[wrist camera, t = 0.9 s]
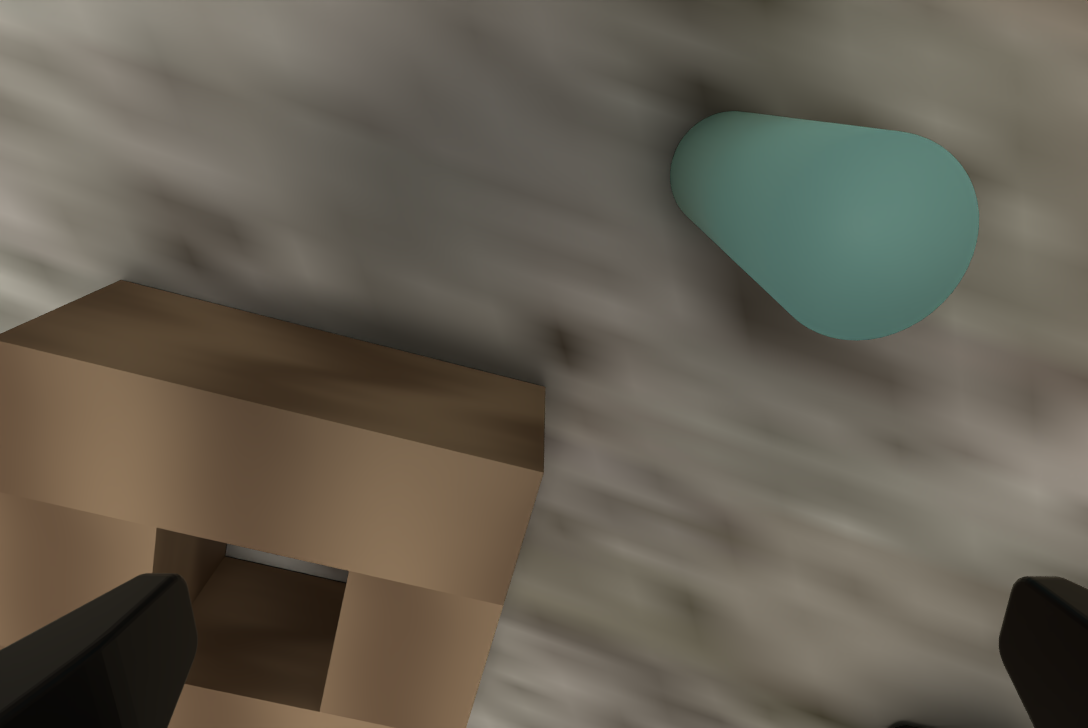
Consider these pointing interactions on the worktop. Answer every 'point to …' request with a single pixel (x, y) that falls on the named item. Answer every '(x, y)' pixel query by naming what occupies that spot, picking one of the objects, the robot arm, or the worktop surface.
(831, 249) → the peg
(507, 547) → the socket block
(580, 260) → the worktop surface
